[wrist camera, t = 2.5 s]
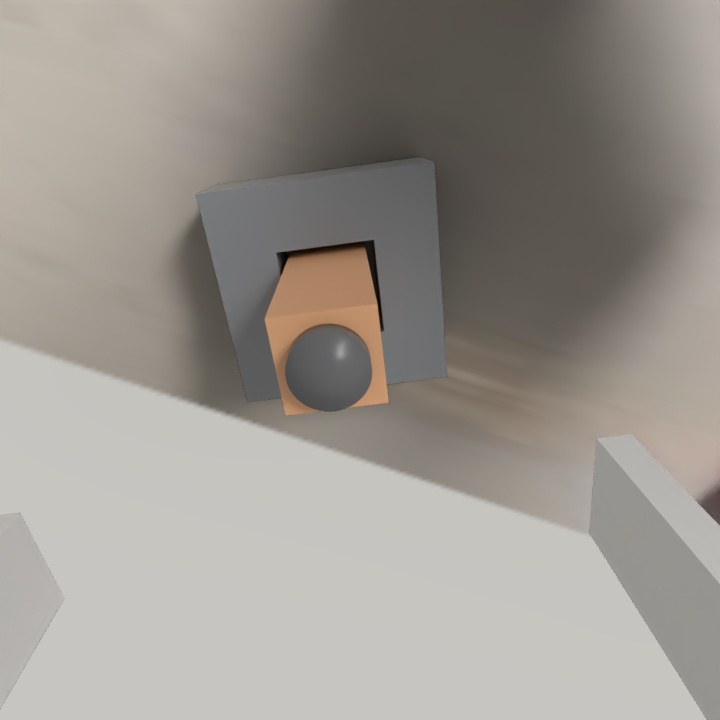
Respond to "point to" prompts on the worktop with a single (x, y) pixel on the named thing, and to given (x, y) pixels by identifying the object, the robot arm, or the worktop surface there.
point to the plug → (327, 331)
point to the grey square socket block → (325, 228)
